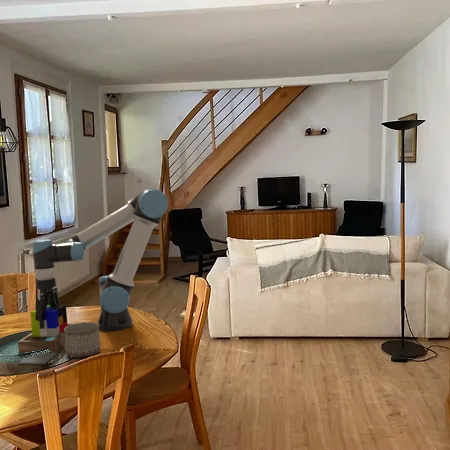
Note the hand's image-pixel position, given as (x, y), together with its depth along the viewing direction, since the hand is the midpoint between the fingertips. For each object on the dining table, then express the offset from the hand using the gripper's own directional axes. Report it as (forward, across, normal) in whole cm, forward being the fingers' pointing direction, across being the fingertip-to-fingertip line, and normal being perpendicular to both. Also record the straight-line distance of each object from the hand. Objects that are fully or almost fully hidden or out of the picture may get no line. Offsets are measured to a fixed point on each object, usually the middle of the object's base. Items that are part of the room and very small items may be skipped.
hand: (50, 331), depth 204 cm
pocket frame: (+5, 0, 0) cm, 5 cm away
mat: (+5, +18, +4) cm, 19 cm away
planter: (+5, +12, +19) cm, 23 cm away
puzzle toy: (+1, 0, 0) cm, 1 cm away
